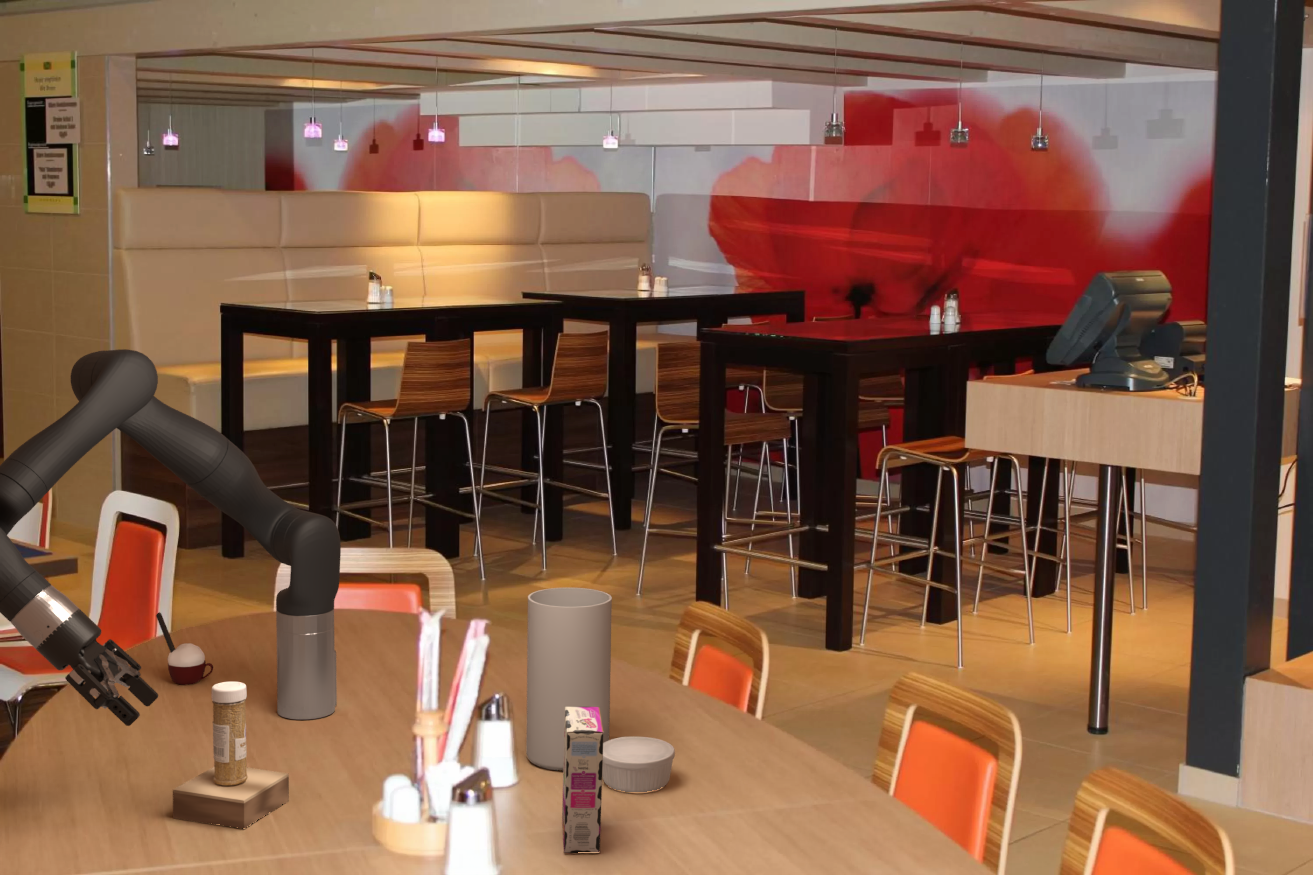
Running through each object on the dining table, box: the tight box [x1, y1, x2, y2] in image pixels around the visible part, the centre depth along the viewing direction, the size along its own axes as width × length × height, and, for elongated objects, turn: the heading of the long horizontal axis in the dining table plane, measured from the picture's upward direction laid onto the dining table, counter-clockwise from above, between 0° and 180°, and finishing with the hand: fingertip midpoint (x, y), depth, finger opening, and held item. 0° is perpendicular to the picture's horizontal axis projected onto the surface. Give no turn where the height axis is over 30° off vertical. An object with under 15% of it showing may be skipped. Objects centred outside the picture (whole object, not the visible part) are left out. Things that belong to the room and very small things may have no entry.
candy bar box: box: [561, 707, 604, 854], centre depth 203 cm, size 11×5×16 cm, turn 5°
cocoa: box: [155, 611, 214, 686], centre depth 269 cm, size 10×6×12 cm, turn 68°
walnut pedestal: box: [172, 766, 290, 829], centre depth 211 cm, size 11×11×4 cm
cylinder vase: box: [525, 587, 613, 772], centre depth 233 cm, size 12×12×25 cm
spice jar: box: [211, 681, 248, 786], centre depth 210 cm, size 5×5×13 cm
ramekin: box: [602, 736, 676, 792], centre depth 225 cm, size 11×11×5 cm
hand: (144, 711), depth 209 cm, fingers open, 8 cm apart
